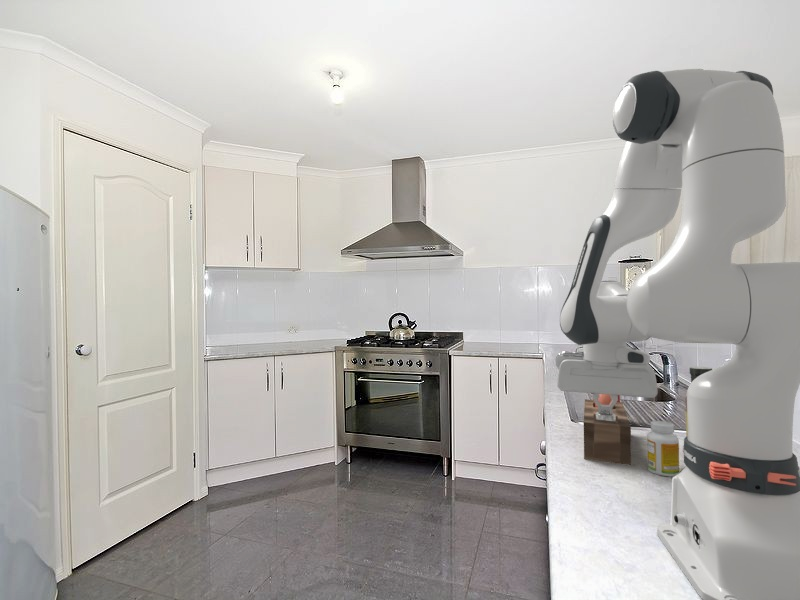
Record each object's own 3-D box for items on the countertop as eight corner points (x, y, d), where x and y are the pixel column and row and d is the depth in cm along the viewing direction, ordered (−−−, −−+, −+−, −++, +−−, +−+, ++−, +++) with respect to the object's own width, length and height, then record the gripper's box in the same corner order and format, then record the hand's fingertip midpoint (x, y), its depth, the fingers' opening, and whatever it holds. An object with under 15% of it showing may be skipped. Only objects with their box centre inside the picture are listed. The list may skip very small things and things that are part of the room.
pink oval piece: (613, 422, 101) (613, 394, 101) (595, 420, 103) (595, 392, 103) (612, 418, 105) (612, 391, 105) (595, 416, 106) (595, 389, 106)
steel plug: (616, 449, 90) (616, 417, 90) (596, 446, 92) (596, 415, 92) (615, 443, 94) (615, 412, 94) (596, 441, 95) (595, 411, 95)
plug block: (631, 465, 85) (630, 427, 85) (584, 459, 89) (583, 422, 89) (622, 433, 107) (622, 402, 107) (585, 428, 111) (584, 399, 111)
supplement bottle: (682, 472, 82) (682, 423, 82) (674, 479, 78) (673, 428, 78) (652, 464, 86) (652, 418, 86) (643, 471, 82) (642, 422, 82)
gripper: (554, 352, 95) (555, 412, 95) (658, 356, 86) (659, 422, 86) (556, 349, 100) (557, 405, 100) (654, 353, 92) (654, 414, 92)
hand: (605, 413), depth 93 cm, fingers closed, pressing on steel plug
